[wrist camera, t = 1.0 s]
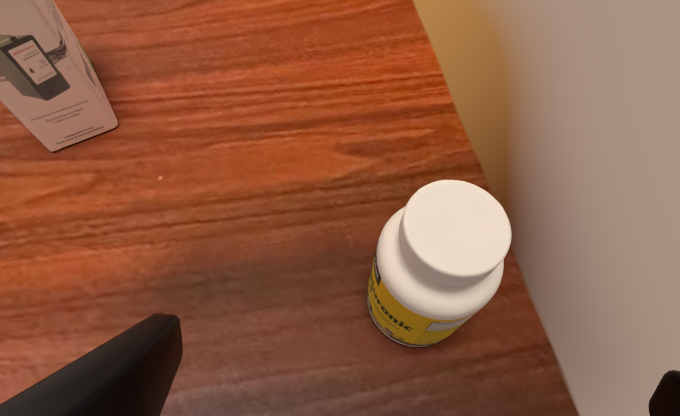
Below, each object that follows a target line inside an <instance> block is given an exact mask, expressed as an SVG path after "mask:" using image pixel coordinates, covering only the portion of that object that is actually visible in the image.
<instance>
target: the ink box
mask: <svg viewBox="0 0 680 416" xmlns="http://www.w3.org/2000/svg"><path fill="white" fill-rule="evenodd" d="M0 101H1V102H2V103H3V104H4V105H5V106H6V107H7V108H8V109H9V110H10V111H11V112H12V113H13V114H14V115H15V116H16V117H17V118H18V119H19V120H20V121H21V122H22V123H23V124H24V125H25V126H26V127H27V128H28V129H29V130H30V131H31V133H32V134H33V135H34V136H36V138H37V139H38V140H39V141H40V142H41V143H42V144H43V145H44V146H45V147H46V148H48V149H49V150H50V151H51V152H53V151H57V150H59V149H61V148H63V147H66V146H69V145H71V144H74V143H77V142H79V141H82V140H84V139H87V138H90V137H92V136H95V135H98V134H100V133H103V132H105V131H108V130H111V129H113V128H115V127H116V126H117V125H118V122H117V119H116V117H115V114H114V112H113V110H112V108H111V105H110V103H109V101H108V99H107V97H106V95H105V92H104V90H103V88H102V86H101V83H100V81H99V79H98V77H97V75H96V73H95V70H94V68H93V66H92V64H91V62H90V59H89V58H88V56H87V54H86V53H85V51H84V49H83V48H82V46H81V44H80V43H79V41H78V39H77V38H76V36H75V34H74V33H73V31H72V30H71V28H70V26H69V25H68V23H67V21H66V20H65V18H64V17H63V15H62V13H61V12H60V10H59V8H58V7H57V5H56V4H55V2H54V0H0Z"/></svg>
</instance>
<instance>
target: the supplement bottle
mask: <svg viewBox="0 0 680 416" xmlns="http://www.w3.org/2000/svg"><path fill="white" fill-rule="evenodd" d="M510 243H511V227H510V223H509V220H508V217H507V215H506V213H505V211H504V209H503V208H502V207H501V205H500V204H499V202H498V201H497V200H496V199H495V198H494V197H493V196H492V195H490V194H489V193H488V192H486V191H485V190H483V189H482V188H480V187H478V186H476V185H473V184H470V183H467V182H464V181H458V180H441V181H436V182H433V183H430V184H428V185H426V186H424V187H422V188H421V189H419V190H418V191H417V192H416V193H415V194H414V195H413V196H412V197H411V198H410V200H409V201H408V203H407V205H406V206H405V207H404V208H402V209H400V210H399V211H398V212H396V213H395V214H394V215H393V216H392V217H391V218H390V219H389V221H388V222H387V223H386V225H385V226H384V228H383V230H382V232H381V235H380V238H379V240H378V244H377V247H376V253H375V257H374V261H373V265H372V270H371V274H370V278H369V282H368V288H367V303H368V308H369V312H370V314H371V317H372V319H373V321H374V322H375V324H376V325H377V327H378V328H379V329H380V330H381V331H382V332H383V333H384V334H385V335H386V336H388V337H389V338H390V339H392V340H393V341H395V342H397V343H400V344H403V345H406V346H411V347H425V346H430V345H433V344H436V343H438V342H440V341H442V340H444V339H445V338H447V337H448V336H449V335H450V334H452V333H453V332H454V331H455V330H456V329H458V328H459V327H460V326H461V325H462V324H463V323H465V322H466V321H467V320H468V319H469V318H470V317H472V316H473V315H474V314H475V313H476V312H477V311H479V310H480V309H481V308H482V307H483V306H485V305H486V304H487V302H488V301H489V300H490V299H491V298H492V296H493V295H494V294H495V292H496V291H497V289H498V287H499V284H500V282H501V279H502V275H503V267H504V260H503V259H504V258H505V256H506V254H507V252H508V250H509V246H510Z"/></svg>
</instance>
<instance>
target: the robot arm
mask: <svg viewBox="0 0 680 416" xmlns="http://www.w3.org/2000/svg"><path fill="white" fill-rule="evenodd" d="M182 353H183V345H182V336H181V327H180V320H179V318H178V317H177V316H176V315H172V314H163V313H156V314H153V315H151V316H150V317H148V318H146V319H144V320H143V321H141V322H139V323H138V324H136V325H134V326H133V327H131V328H129V329H128V330H126V331H124V332H122V333H121V334H119V335H117V336H116V337H114V338H112V339H111V340H109V341H107V342H105V343H104V344H102V345H100V346H99V347H97V348H95V349H94V350H92V351H90V352H89V353H87V354H85V355H83V356H82V357H80V358H78V359H77V360H75V361H73V362H72V363H70V364H68V365H66V366H65V367H63V368H61V369H60V370H58V371H56V372H55V373H53V374H51V375H50V376H48V377H46V378H44V379H43V380H41V381H39V382H38V383H36V384H34V385H33V386H31V387H29V388H27V389H26V390H24V391H22V392H21V393H19V394H17V395H16V396H14V397H12V398H11V399H9V400H7V401H5V402H4V403H2V404H0V416H160V414H161V411H162V408H163V406H164V403H165V401H166V398H167V395H168V393H169V390H170V388H171V385H172V383H173V380H174V377H175V375H176V372H177V370H178V367H179V364H180V362H181V358H182ZM649 413H650V416H680V371H675V370H672V371H669V372H667V373H666V374H665V375H664V376H663V378H662V379H661V381H660V383H659V385H658V386H657V388H656V390H655V392H654V394H653V395H652V397H651V399H650V401H649Z"/></svg>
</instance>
